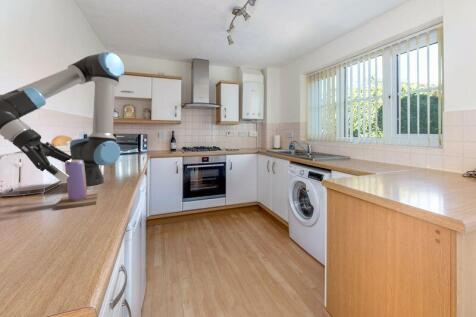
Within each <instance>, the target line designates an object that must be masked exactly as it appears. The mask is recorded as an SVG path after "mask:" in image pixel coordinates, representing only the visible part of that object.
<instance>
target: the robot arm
mask: <svg viewBox="0 0 476 317" xmlns="http://www.w3.org/2000/svg"><path fill="white" fill-rule="evenodd" d="M124 74H125V65H124V63H123V60H121V58H120V57H119V56H118V55H117V54H116V53H113V52H111V51H103V52H100V53H96V54H93V55H92V54H91V55H87V56H85V57H82V59H80V60H78V61H75V62H73V63H71V64H69V65H68V66H67V68H65V69H63V70H60V71H58V72H55V73H54V74H51V75H48V76H46V77H42V78H41V79H38V80H36V81H33V82H31V83H28V84H26V85H23V86H21V87H18V88H16V89H13V90H11V91H9V92H6V93H4V94H0V136H2V137H3V139H4V140H7V141H8V142H10V143H12V145H14V146H15V147H16V148H17V149H19V150H20V151H21V152H22V153H23V154H24V155H25V156H26V157H27V158H28V159H29V160H30V162H31V163H32V164H33V166H35V168H36V169H37V170H40V171H42V172H44V171H47V173H49V174H51V175H52V176H53V177H55V178H56V179H57V180H59V181H60V182H62V183H64V182H65V181H67V180H66V179H67V178H68V177H69V175H67V174H66V171H63V170H62V169H60V168H59V167H58V166H57V165H56V164H54V163H50V161H49V159H48V158H49V157H50V158H53V159H55V160H58V161H59V162H62V163H64V164H65V161H68V160H83V161H84V166H85V176H86V187H89V186H90V187H91V186H95V185H99V184H102V183H104V182H105V178H104V175H103V173H102V171H101V168H100V166H110V165H113V164H115V163H116V162H117V161H118V160H119V158H120V156H121V147H120V146H119V144H118V143H117V137H116V136H114V120H115V119H114V116H115V114H114V113H115V97H116V96H115V94H116V93H115V92H116V87H117V86H119V84H120V82H119V80H120V78H121V77H122V76H124ZM90 82H93V83H94V96H93V111H92V112H93V117H92V132H91V134H89V136H88V137H86V138H77V139H72V140H70V141H69V150H70V152H69V153H70V154H68V153H67V152H65V151H63V150H61V149H60V148H57V147H56V146H54V145H53V144H51V143H50V142H49V141H46V142H44V143H43V142H42V141H41V140H42V135H40V134H39V133H38V132H37V131H35V130H34V129H33V128H31V126H30V125H28V124H26V123H25V122H24V121H23V120H21V119H20V118H22V117H24V116H26V115H28V114H31V113H32V112H35V111H37V110H39V109H40V108H42V107H43V106H46V103H47V101H46V99H47V100H48V99H49V98H51V97H53V96H55V95H58V94H59V93H62V92H63V91H66V90H68V89H70V88H73V87H75V86H77V85H84V84H87V83H90Z"/></svg>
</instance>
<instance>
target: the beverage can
mask: <svg viewBox="0 0 476 317" xmlns="http://www.w3.org/2000/svg"><path fill="white" fill-rule="evenodd" d="M64 170H65V171H64V172H65V173H66V174H67V175H69V177H68V178H67V179H66V180H65V181H66V188H67V197H68V199H69V200H70V201H73V202H74V201H81V200H85V199H86V198H87V195H88V190H87V187H88V186H86V176H85V166H84V161H83V160H68V161H65V163H64Z"/></svg>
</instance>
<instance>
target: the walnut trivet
mask: <svg viewBox="0 0 476 317" xmlns="http://www.w3.org/2000/svg"><path fill="white" fill-rule="evenodd" d="M98 198H99V195H98V193H93V194H87V198H86V199H85V200H81V201H74V202H73V201H70V200H69V199H68V196H66V197H61V198H60V200H59V201H58V202H57V204H56V205H55V210H56V211H57V210H59V211H60V210H65V209H66V210H67V209H71V208H72V209H73V208H79V207H86V206H87V207H88V206H93V205H97V202H98Z"/></svg>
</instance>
